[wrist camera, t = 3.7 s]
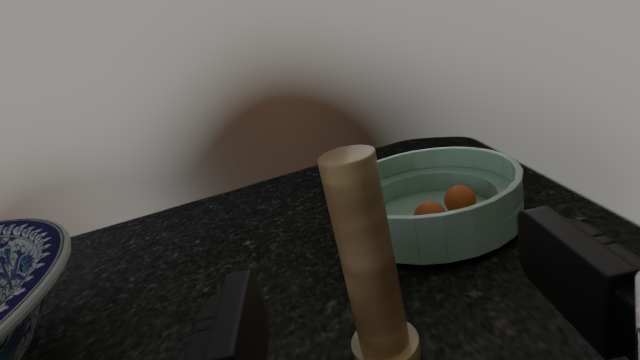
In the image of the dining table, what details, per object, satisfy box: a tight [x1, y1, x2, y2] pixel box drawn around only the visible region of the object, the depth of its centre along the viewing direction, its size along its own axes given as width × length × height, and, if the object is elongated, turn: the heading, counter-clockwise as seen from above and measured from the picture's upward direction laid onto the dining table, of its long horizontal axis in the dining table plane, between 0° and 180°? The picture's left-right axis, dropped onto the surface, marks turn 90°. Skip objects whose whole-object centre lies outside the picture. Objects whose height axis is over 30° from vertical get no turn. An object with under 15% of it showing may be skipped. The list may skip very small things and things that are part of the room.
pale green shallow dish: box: [377, 147, 526, 265], centre depth 41 cm, size 17×17×5 cm
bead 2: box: [444, 185, 476, 211], centre depth 41 cm, size 3×3×3 cm
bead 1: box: [414, 201, 446, 216], centre depth 39 cm, size 3×3×3 cm
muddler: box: [317, 145, 421, 360], centre depth 25 cm, size 4×4×14 cm
